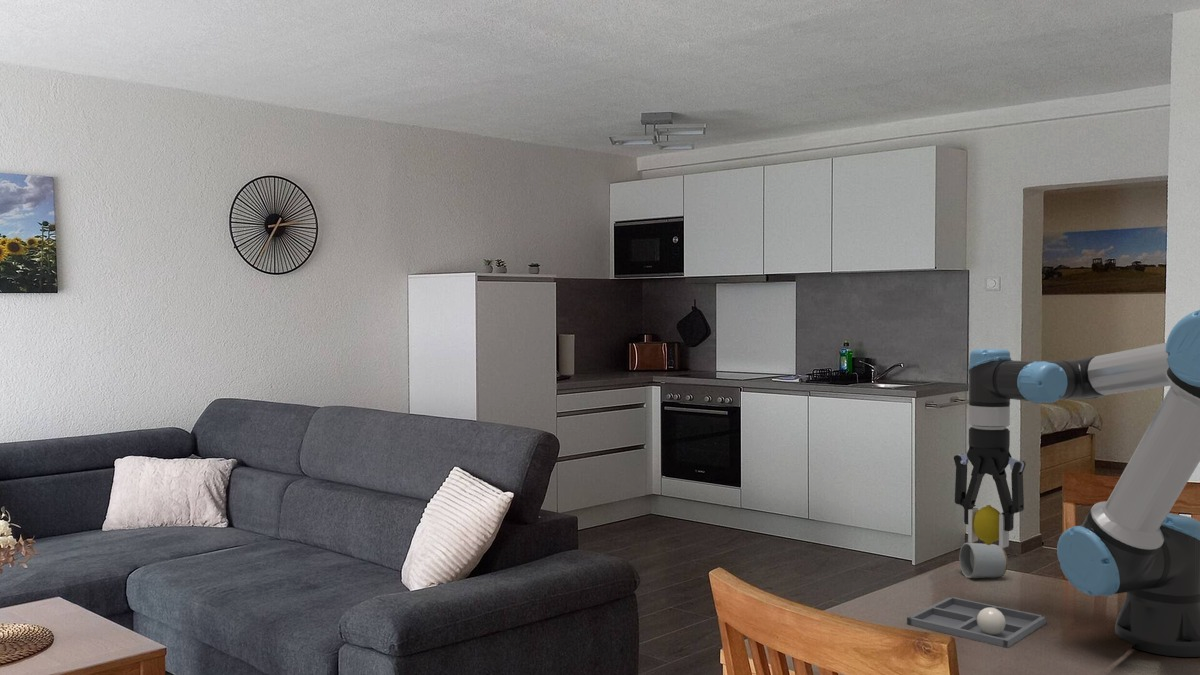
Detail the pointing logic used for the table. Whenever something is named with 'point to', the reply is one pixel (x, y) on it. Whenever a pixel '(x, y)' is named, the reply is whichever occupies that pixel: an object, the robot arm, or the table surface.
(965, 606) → the compartment tray
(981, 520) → the lemon
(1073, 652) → the table surface
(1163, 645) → the robot arm
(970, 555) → the ceramic mug
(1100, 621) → the table surface
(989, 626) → the cream egg
